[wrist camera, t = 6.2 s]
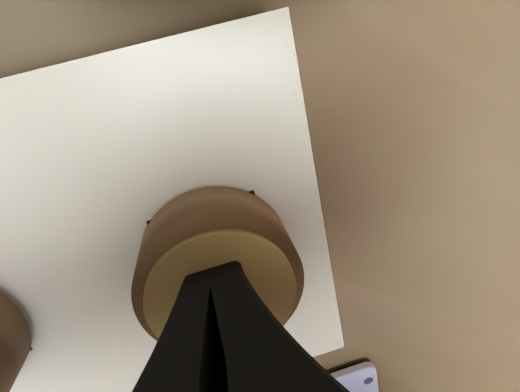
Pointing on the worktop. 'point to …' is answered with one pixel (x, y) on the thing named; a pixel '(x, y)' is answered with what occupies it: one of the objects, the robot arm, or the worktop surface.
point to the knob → (214, 252)
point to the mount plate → (146, 186)
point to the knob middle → (12, 343)
